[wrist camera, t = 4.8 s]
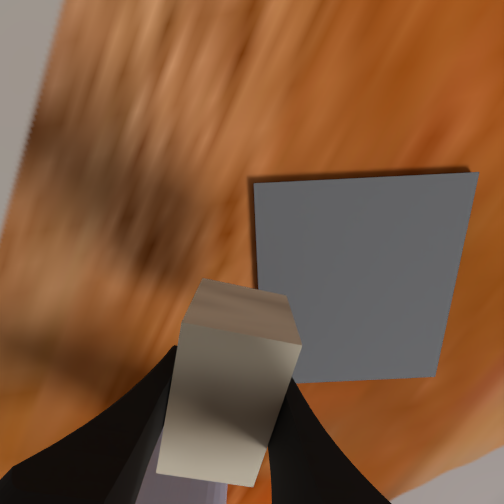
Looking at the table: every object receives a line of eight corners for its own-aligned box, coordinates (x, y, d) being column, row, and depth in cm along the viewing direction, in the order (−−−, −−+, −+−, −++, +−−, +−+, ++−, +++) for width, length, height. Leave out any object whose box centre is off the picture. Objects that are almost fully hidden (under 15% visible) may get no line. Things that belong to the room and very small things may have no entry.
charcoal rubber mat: (430, 371, 23) (435, 376, 22) (262, 379, 23) (262, 384, 22) (471, 172, 17) (479, 172, 17) (253, 183, 18) (253, 183, 17)
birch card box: (252, 408, 15) (253, 487, 11) (180, 396, 15) (155, 473, 11) (286, 295, 13) (302, 345, 9) (202, 278, 12) (181, 322, 8)
